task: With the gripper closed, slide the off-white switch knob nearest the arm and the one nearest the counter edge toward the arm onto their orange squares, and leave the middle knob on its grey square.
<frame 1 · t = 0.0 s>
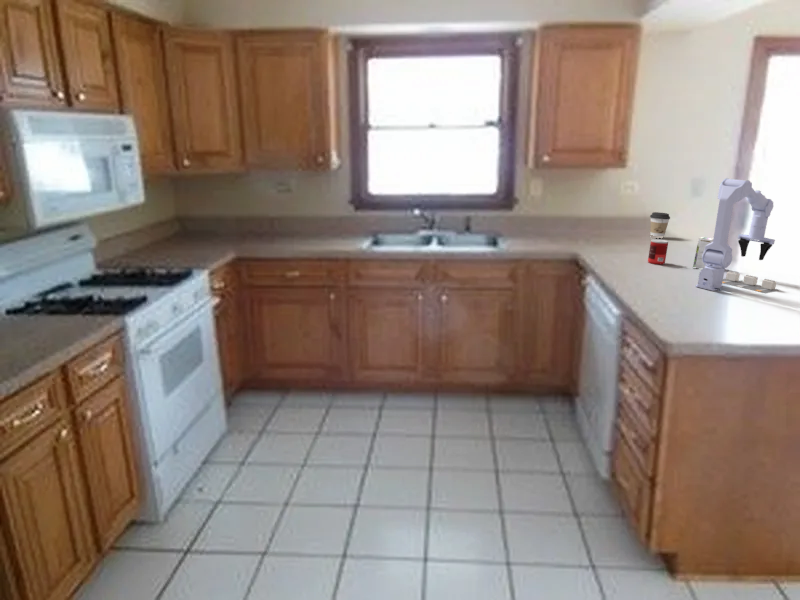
hand: (752, 258, 265), 10 cm above the counter, tool pointing down, fingers open, 7 cm apart
coffee cup: (656, 238, 370), on the counter
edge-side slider: (769, 284, 249), point 3 cm above the counter, slide at 0.0 cm
canned food: (656, 263, 297), on the counter
middle slider: (750, 279, 255), point 3 cm above the counter, slide at 0.0 cm
switch panel: (745, 287, 255), on the counter
syrup box: (700, 268, 289), on the counter
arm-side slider: (732, 276, 261), point 3 cm above the counter, slide at 0.0 cm
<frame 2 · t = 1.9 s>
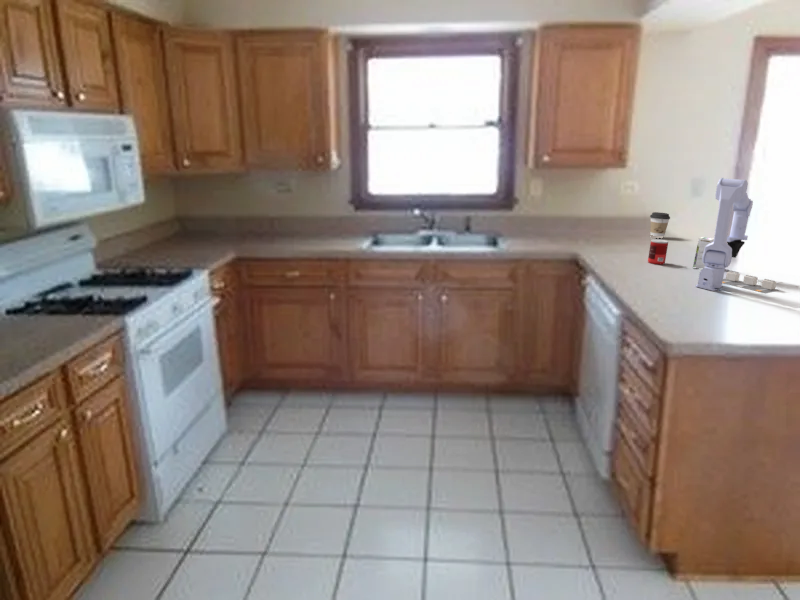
hand: (732, 257, 269), 9 cm above the counter, tool pointing down, fingers closed
nothing on the counter moved.
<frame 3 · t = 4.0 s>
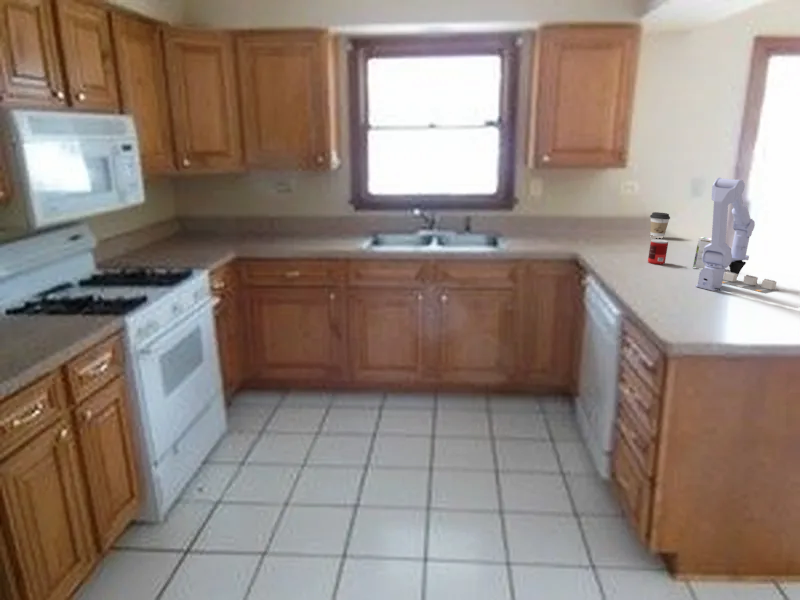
hand: (733, 277, 262), 2 cm above the counter, tool pointing down, fingers closed
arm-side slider: (730, 276, 260), point 3 cm above the counter, slide at 1.8 cm, touching gripper
everything else where it was.
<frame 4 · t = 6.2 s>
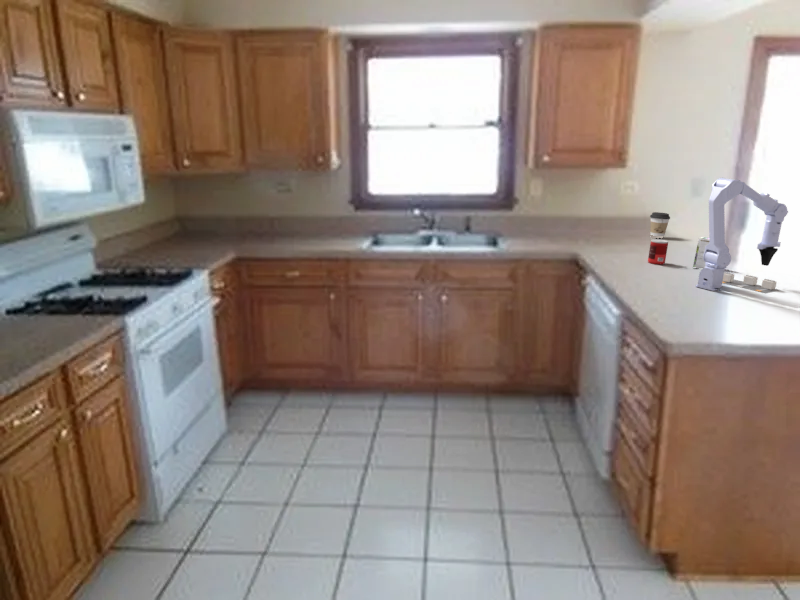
hand: (764, 265, 254), 10 cm above the counter, tool pointing down, fingers closed
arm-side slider: (727, 276, 259), point 3 cm above the counter, slide at 4.3 cm
everything else where it was.
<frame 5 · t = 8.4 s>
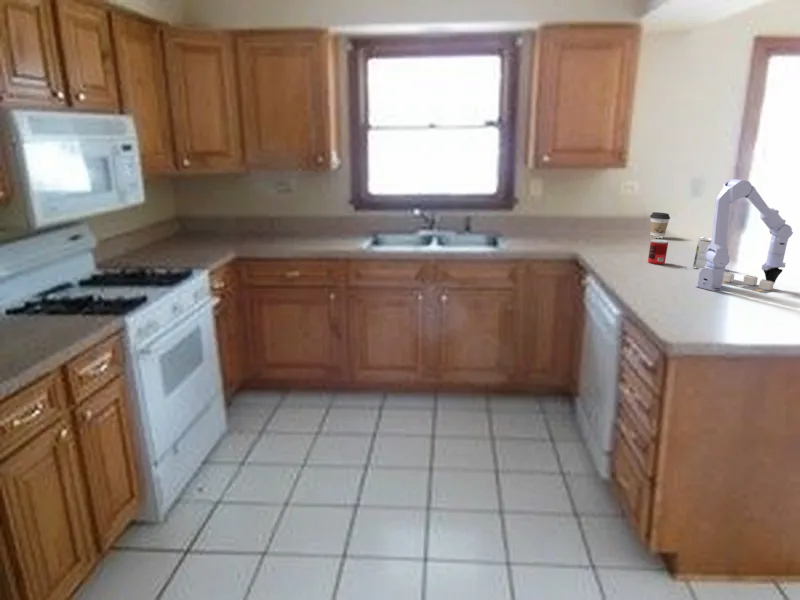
hand: (769, 285, 250), 2 cm above the counter, tool pointing down, fingers closed
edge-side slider: (766, 284, 248), point 3 cm above the counter, slide at 2.0 cm, touching gripper
everything else where it was.
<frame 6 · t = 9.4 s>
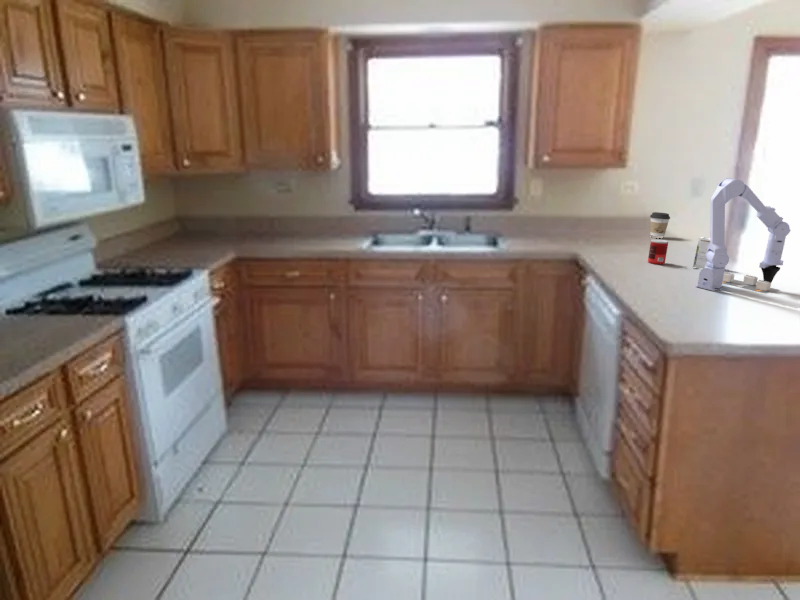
hand: (767, 283, 248), 3 cm above the counter, tool pointing down, fingers closed
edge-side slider: (763, 285, 247), point 3 cm above the counter, slide at 4.3 cm
everything else where it was.
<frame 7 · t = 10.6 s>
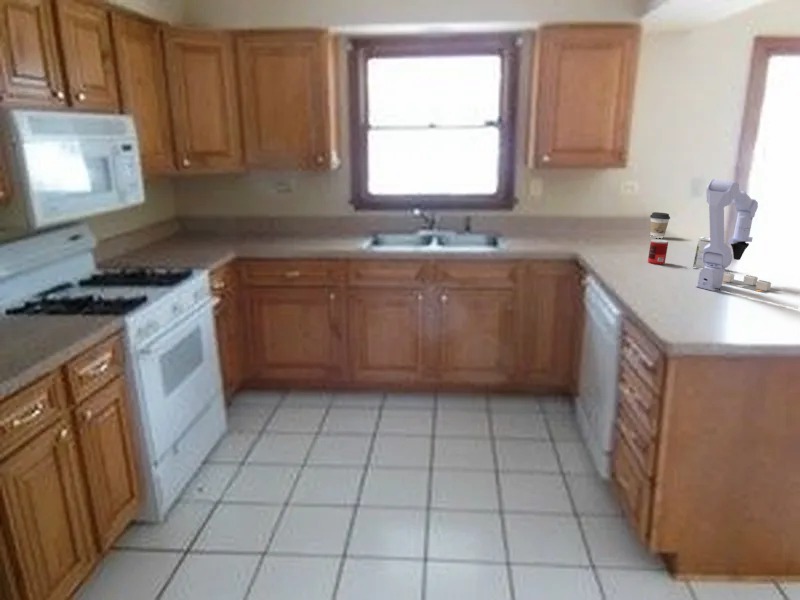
hand: (736, 259, 260), 10 cm above the counter, tool pointing down, fingers closed
nothing on the counter moved.
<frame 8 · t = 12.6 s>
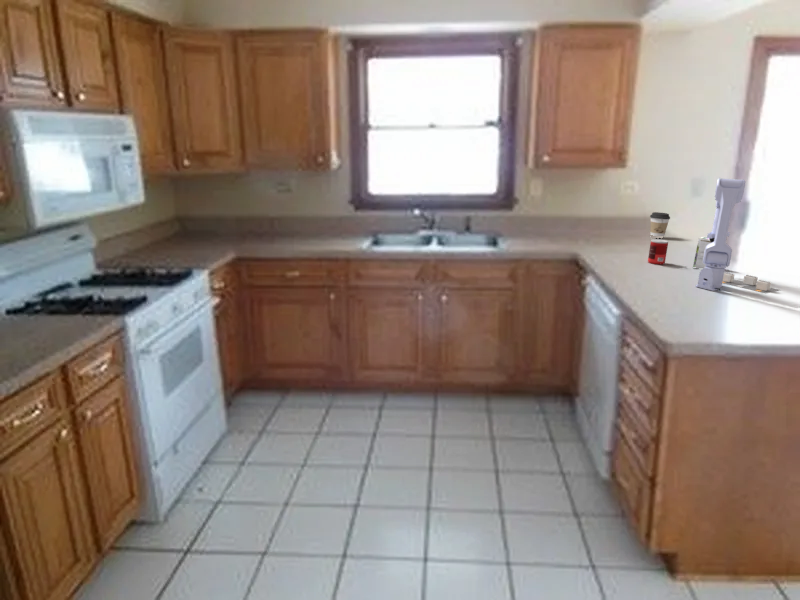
hand: (715, 253, 270), 10 cm above the counter, tool pointing down, fingers closed
nothing on the counter moved.
at the end: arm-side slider slide at 4.3 cm; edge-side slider slide at 4.3 cm; middle slider slide at 0.0 cm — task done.
